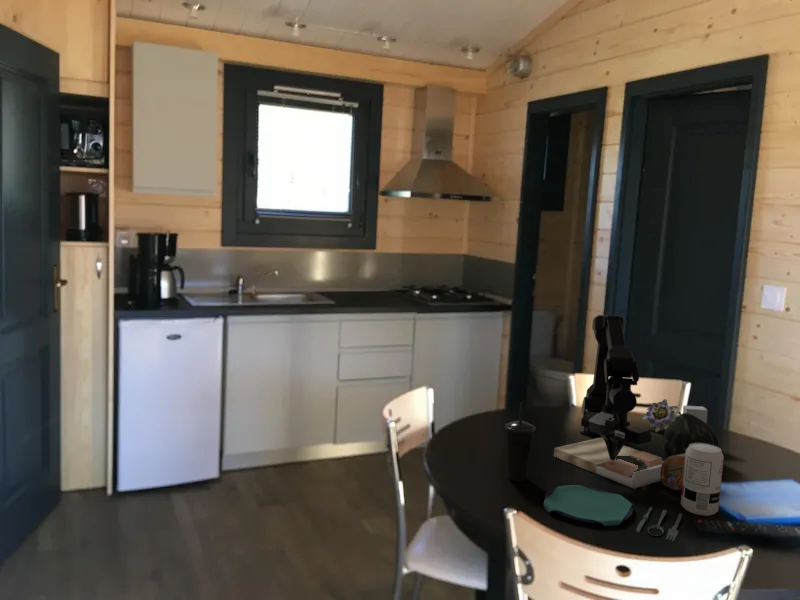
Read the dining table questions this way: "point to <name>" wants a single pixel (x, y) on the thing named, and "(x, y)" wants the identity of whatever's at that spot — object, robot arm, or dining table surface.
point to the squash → (687, 434)
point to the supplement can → (702, 479)
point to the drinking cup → (518, 447)
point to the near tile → (621, 467)
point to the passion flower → (661, 415)
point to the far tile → (648, 458)
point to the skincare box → (696, 412)
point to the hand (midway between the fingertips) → (612, 459)
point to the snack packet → (673, 471)
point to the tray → (633, 476)
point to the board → (589, 453)
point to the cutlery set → (598, 507)
